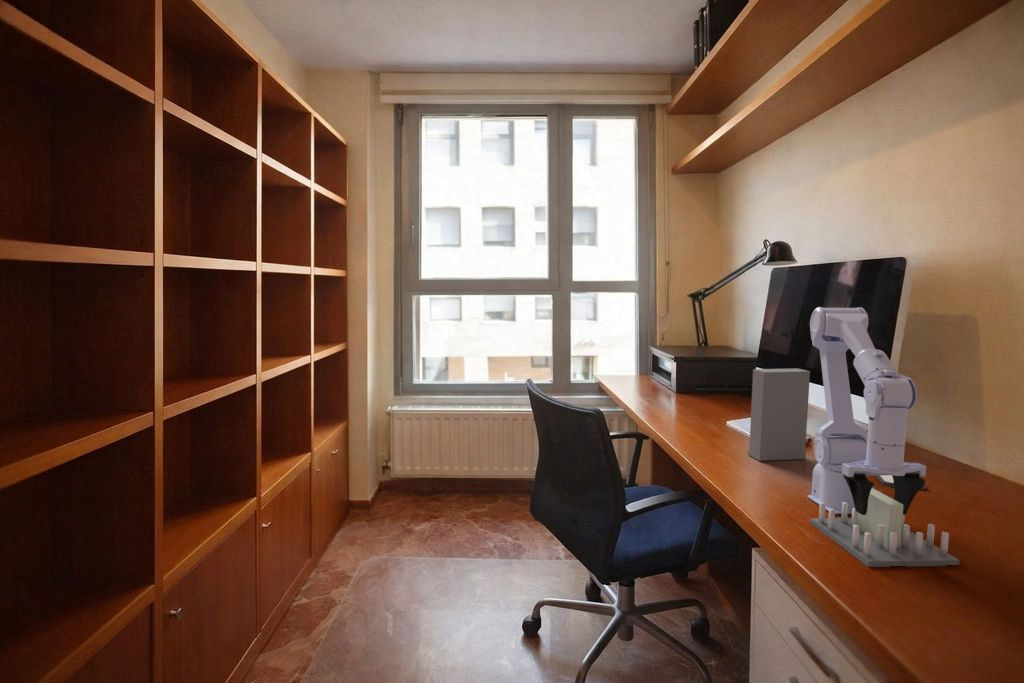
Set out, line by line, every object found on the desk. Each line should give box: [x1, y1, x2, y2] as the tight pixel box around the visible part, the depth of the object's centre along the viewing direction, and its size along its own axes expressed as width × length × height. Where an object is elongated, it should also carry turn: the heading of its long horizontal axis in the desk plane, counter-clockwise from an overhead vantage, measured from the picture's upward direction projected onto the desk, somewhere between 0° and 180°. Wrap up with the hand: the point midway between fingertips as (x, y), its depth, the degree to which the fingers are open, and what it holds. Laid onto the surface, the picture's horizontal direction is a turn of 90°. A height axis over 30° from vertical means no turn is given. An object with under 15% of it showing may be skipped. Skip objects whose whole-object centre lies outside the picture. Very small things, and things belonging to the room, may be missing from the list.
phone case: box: [874, 475, 926, 491], centre depth 133 cm, size 9×2×16 cm
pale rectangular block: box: [858, 487, 903, 547], centre depth 99 cm, size 8×2×8 cm, turn 1°
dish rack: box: [809, 502, 960, 568], centre depth 99 cm, size 17×16×5 cm
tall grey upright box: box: [746, 368, 811, 462], centre depth 148 cm, size 14×6×25 cm, turn 97°
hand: (880, 512), depth 98 cm, fingers open, 7 cm apart
